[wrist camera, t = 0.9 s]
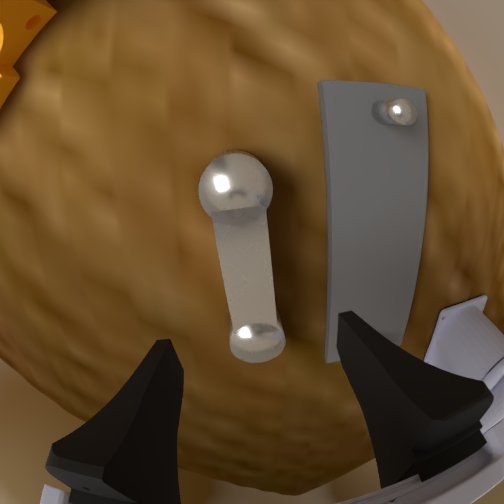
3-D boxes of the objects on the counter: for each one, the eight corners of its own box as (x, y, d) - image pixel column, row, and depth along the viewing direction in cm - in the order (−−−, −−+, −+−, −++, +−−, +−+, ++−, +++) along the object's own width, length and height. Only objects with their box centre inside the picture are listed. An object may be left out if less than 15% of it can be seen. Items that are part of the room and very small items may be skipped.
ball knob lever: (280, 332, 24) (286, 358, 21) (233, 338, 24) (234, 365, 21) (262, 145, 17) (268, 150, 14) (199, 154, 17) (193, 160, 14)
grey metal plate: (397, 338, 25) (414, 364, 22) (324, 356, 25) (335, 387, 22) (417, 89, 16) (451, 87, 12) (317, 82, 15) (339, 72, 12)
